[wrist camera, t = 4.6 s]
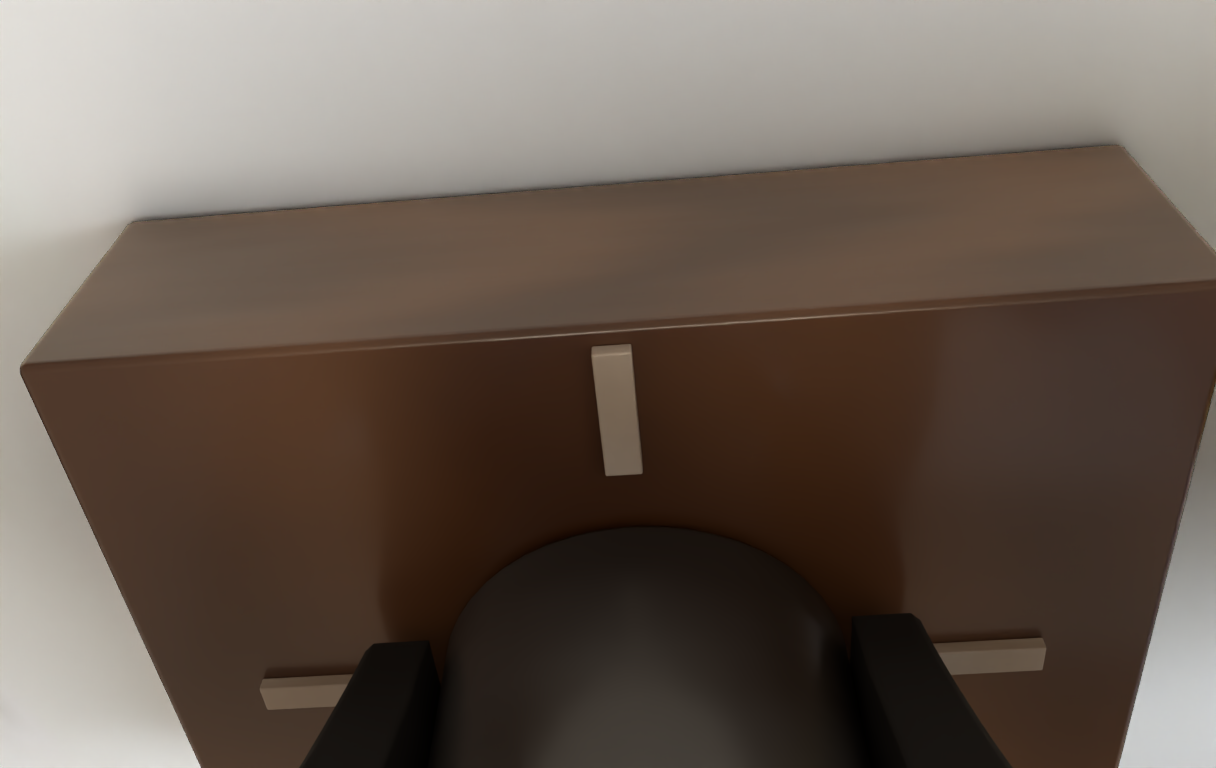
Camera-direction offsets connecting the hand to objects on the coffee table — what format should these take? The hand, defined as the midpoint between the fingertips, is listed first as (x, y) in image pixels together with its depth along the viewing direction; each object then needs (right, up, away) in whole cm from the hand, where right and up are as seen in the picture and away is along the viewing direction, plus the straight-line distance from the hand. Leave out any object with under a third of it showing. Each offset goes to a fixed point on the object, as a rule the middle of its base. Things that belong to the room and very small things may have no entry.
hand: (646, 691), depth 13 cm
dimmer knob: (0, 0, 0) cm, 0 cm away
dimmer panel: (0, +2, +3) cm, 3 cm away
